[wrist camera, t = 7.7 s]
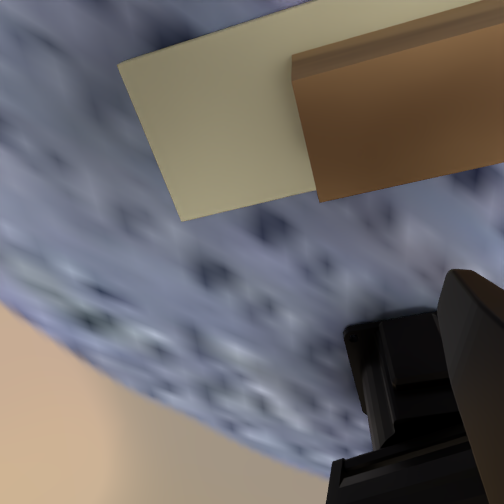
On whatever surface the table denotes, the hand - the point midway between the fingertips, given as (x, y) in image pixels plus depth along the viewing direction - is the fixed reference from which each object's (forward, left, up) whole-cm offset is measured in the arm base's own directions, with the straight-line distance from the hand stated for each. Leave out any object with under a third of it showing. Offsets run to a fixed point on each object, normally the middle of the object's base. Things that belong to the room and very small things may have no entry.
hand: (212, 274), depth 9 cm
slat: (0, -8, -11) cm, 14 cm away
